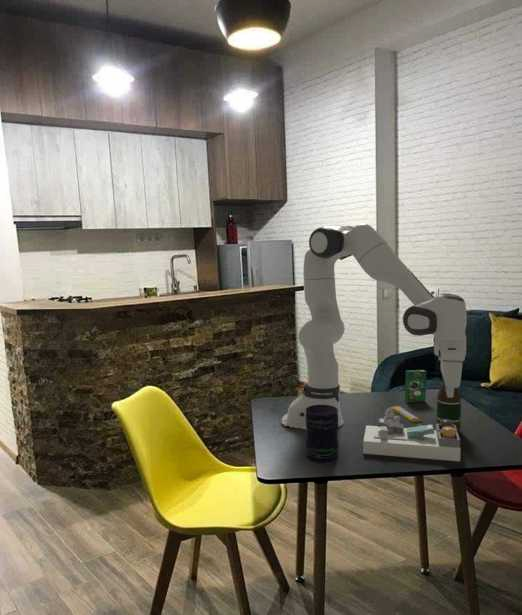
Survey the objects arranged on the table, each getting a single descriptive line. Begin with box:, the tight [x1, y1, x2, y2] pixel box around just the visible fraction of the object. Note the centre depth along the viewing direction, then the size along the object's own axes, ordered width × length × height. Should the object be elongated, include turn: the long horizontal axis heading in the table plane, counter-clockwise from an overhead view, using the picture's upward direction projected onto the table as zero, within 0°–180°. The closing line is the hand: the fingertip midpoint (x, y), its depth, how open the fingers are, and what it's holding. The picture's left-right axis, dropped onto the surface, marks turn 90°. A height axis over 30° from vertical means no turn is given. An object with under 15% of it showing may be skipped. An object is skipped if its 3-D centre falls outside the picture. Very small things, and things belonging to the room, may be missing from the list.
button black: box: [440, 419, 453, 429], centre depth 157 cm, size 4×4×2 cm
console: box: [362, 420, 461, 462], centre depth 157 cm, size 28×14×7 cm, turn 75°
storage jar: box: [305, 405, 340, 464], centre depth 152 cm, size 10×10×15 cm
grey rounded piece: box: [382, 406, 401, 424], centre depth 176 cm, size 5×7×8 cm
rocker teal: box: [406, 424, 435, 437], centre depth 156 cm, size 8×4×2 cm, turn 75°
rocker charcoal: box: [377, 417, 405, 433], centre depth 161 cm, size 8×4×2 cm, turn 74°
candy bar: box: [390, 405, 423, 423], centre depth 188 cm, size 17×4×2 cm, turn 13°
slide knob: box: [381, 426, 387, 439], centre depth 155 cm, size 2×3×3 cm, turn 165°
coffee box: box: [404, 369, 427, 404], centre depth 204 cm, size 8×3×13 cm, turn 97°
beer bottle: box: [436, 381, 462, 434], centre depth 170 cm, size 8×8×24 cm
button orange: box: [442, 427, 455, 439], centre depth 150 cm, size 4×4×2 cm
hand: (449, 394), depth 149 cm, fingers open, 4 cm apart
